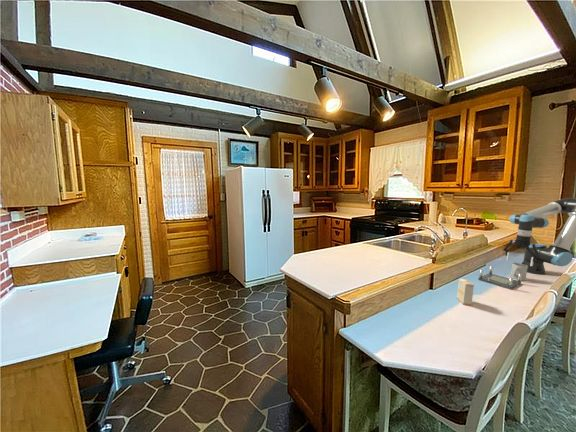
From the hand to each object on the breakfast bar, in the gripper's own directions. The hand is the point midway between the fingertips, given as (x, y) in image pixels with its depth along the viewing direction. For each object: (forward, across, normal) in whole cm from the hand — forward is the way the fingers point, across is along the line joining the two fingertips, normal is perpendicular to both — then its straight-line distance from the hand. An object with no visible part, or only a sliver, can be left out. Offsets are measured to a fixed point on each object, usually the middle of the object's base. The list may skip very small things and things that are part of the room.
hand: (519, 262), depth 183 cm
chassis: (+13, -4, -19) cm, 23 cm away
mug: (+13, 0, 0) cm, 13 cm away
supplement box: (+14, -3, -76) cm, 77 cm away
